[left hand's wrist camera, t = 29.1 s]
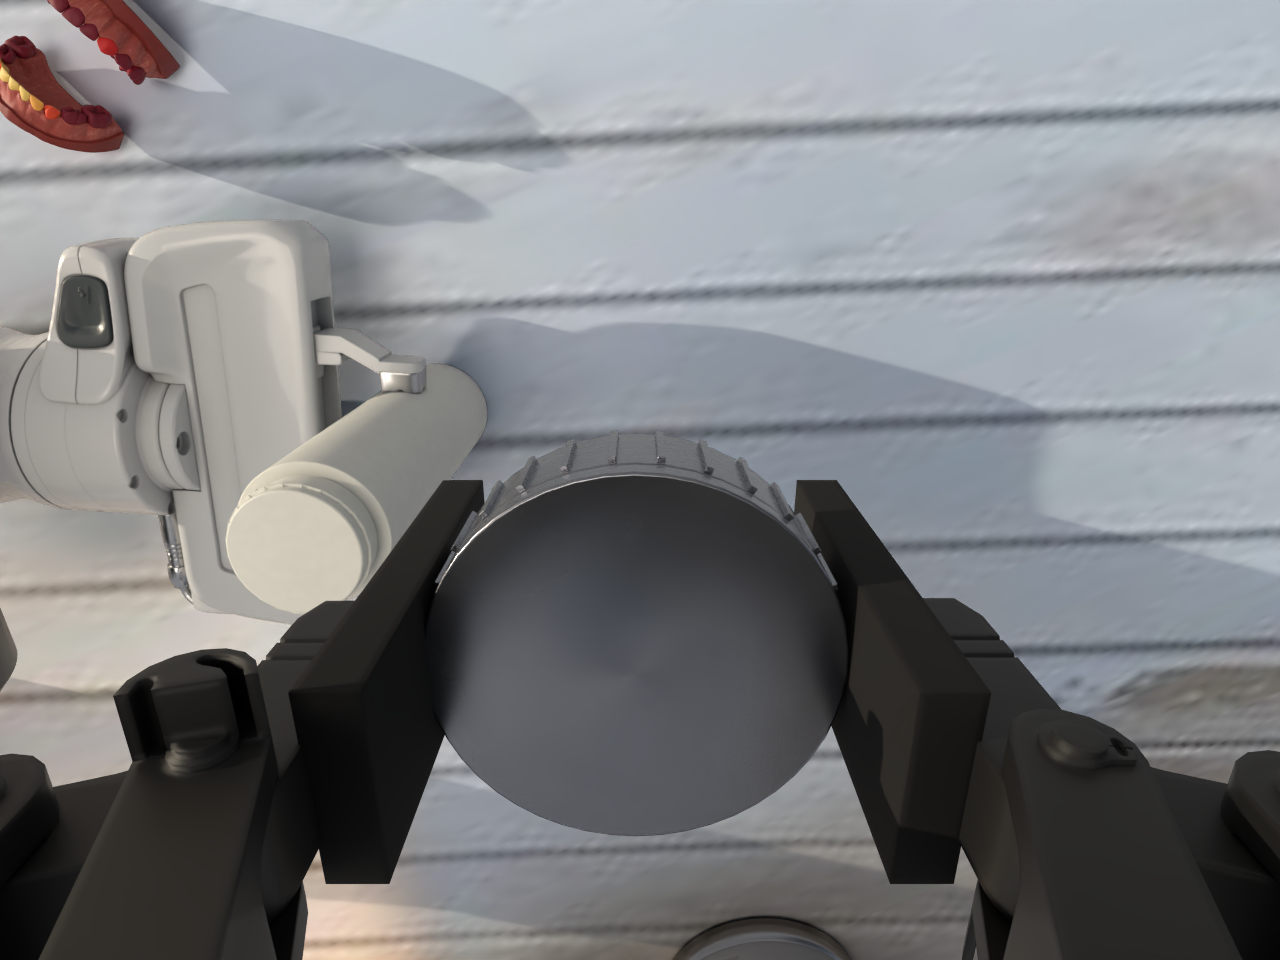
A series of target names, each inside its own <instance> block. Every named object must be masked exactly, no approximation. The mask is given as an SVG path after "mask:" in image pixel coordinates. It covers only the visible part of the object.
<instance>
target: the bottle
mask: <svg viewBox="0 0 1280 960" xmlns="http://www.w3.org/2000/svg"><path fill="white" fill-rule="evenodd" d="M426 366H427V368H426V382H427V388H425V389H423V391H422V392H419V393H405V392H403V391H402V390H398V391H397V392H383V391H380V392H379V393H377V394H376V395H374V396H373V397H371V398H370V399H368V400H367V401H365V402H364V403H363V404H361V405H360V406H358V407H357V408H355V409H354V410H352V411H351V412H349V413H348V414H346V415H345V416H344V417H342V418H341V419H339V420H338V421H336V422H335V423H333V424H332V425H330V426H329V427H327V428H326V429H325V430H323V431H322V432H320V433H319V434H317V435H316V436H314V437H313V438H311V439H310V440H308V441H307V442H306V443H304V444H303V445H301V446H300V447H298V448H297V449H295V450H294V451H292V452H291V453H289V454H288V455H286V456H285V457H284V458H282V459H281V460H279V461H278V462H276V463H275V464H273V465H272V466H270V467H269V468H267V469H266V470H265V471H263V472H262V473H260V474H259V475H258V476H257V477H255V478H254V479H253V480H252V481H251V482H250V483H249V485H248V486H247V487H246V489H245V490H244V492H243V493H242V495H241V498H240V500H239V503H238V506H237V507H236V508H235V510H234V512H233V514H232V516H231V518H230V520H229V522H228V526H227V534H226V538H225V540H226V546H227V553H228V555H227V556H228V558H229V560H230V563H231V566H232V568H233V570H234V573H235V574H236V575H237V576H238V578H239V579H240V581H241V582H242V583H243V584H244V585H245V587H246V588H247V589H248V590H249V591H251V592H252V593H253V594H254V595H256V596H257V597H258V598H259V599H260V600H262V601H264V602H266V603H268V604H270V605H272V606H274V607H276V609H280V610H284V611H288V612H292V613H293V614H305V613H307V612H309V611H310V610H312V609H313V608H315V607H317V606H318V605H320V604H321V603H323V602H325V601H344V600H348V599H351V598H353V597H356V596H358V595H360V593H361V592H362V591H363V589H364V588H365V587H366V585H367V584H368V582H369V581H370V580H371V578H372V577H373V576H374V574H375V573H376V571H377V570H378V569H379V567H380V566H381V565H382V563H383V562H384V560H385V559H386V558H387V556H388V555H389V554H390V552H391V551H392V549H393V548H394V547H395V545H396V544H397V543H398V541H399V540H400V539H401V537H402V536H403V534H404V533H405V532H406V530H407V529H408V528H409V526H410V525H411V523H412V522H413V521H414V519H415V518H416V517H417V515H418V514H419V512H420V511H421V510H422V508H423V507H424V506H425V504H426V503H427V501H428V500H429V499H430V497H431V496H432V495H433V493H434V492H435V490H436V489H437V488H438V486H439V485H440V484H441V482H442V481H443V480H450V479H451V478H452V477H453V475H454V474H455V472H456V471H457V470H458V468H459V467H460V465H461V464H462V463H463V461H464V460H465V458H466V457H467V456H468V454H469V453H470V451H471V450H472V449H473V447H474V446H475V444H476V443H477V442H478V440H479V439H480V437H481V436H482V434H483V432H484V429H485V427H486V422H487V406H486V401H485V398H484V396H483V394H482V392H481V390H480V388H479V387H478V385H477V384H476V383H475V382H474V381H473V379H471V378H470V377H469V376H468V375H467V374H465V373H464V372H462V371H461V370H459V369H457V368H454V367H452V366H448V365H444V364H426Z"/></svg>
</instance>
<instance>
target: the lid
mask: <svg viewBox="0 0 1280 960" xmlns="http://www.w3.org/2000/svg"><path fill="white" fill-rule="evenodd" d="M451 550H452V551H451V553H450V555H449V557H448V558H447V560H446V562H445V564H444V566H443V568H442V569H441V571H440V573H439V575H438V577H437V578H436V580H435V582H434V585H433V588H436V591H435V593H434V596H433V598H432V600H431V604H430V608H429V611H428V615H427V619H426V622H425V642H426V651H427V659H428V668H429V676H430V685H431V694H432V702H433V709H434V713H435V716H436V719H437V721H438V722H439V724H440V726H441V728H442V730H443V732H444V734H445V736H446V738H447V739H448V741H449V742H450V744H451V745H452V746H453V748H454V749H455V751H456V752H457V753H458V755H459V756H460V757H461V759H462V760H463V761H464V762H465V763H466V764H467V765H468V766H469V767H470V768H471V770H472V771H473V772H474V773H475V774H476V775H477V776H478V777H479V778H481V779H482V780H483V781H484V782H485V783H487V784H488V785H489V786H490V787H491V788H493V789H494V790H495V791H496V792H498V793H499V794H501V795H502V796H504V797H505V798H507V799H508V800H510V801H511V802H513V803H514V804H516V805H518V806H520V807H522V808H524V809H526V810H528V811H530V812H532V813H534V814H536V815H538V816H540V817H543V818H545V819H548V820H551V821H553V822H556V823H559V824H561V825H565V826H569V827H572V828H576V829H580V830H584V831H589V832H596V833H602V834H609V835H624V836H648V835H663V834H670V833H676V832H683V831H688V830H692V829H696V828H699V827H703V826H707V825H711V824H713V823H716V822H719V821H721V820H724V819H727V818H729V817H732V816H734V815H736V814H738V813H740V812H742V811H744V810H746V809H748V808H750V807H752V806H754V805H756V804H757V803H759V802H760V801H762V800H764V799H765V798H767V797H768V796H770V795H771V794H773V793H774V792H776V791H777V790H778V789H779V788H780V787H782V786H783V785H784V784H785V783H786V782H788V781H789V780H790V779H791V778H792V777H793V776H795V775H796V774H797V772H798V771H799V770H800V769H801V768H802V767H803V766H804V765H805V764H806V763H807V762H808V761H809V759H810V758H811V757H812V756H813V754H814V753H815V751H816V750H817V749H818V747H819V746H820V744H821V743H822V741H823V740H824V739H825V737H826V735H827V733H828V731H829V729H830V727H831V725H832V723H833V721H834V719H835V717H836V715H837V712H838V709H839V706H840V703H841V700H842V697H843V694H844V689H845V684H846V678H847V673H848V653H849V645H848V637H847V629H846V622H845V618H844V615H843V611H842V608H841V604H840V601H839V598H838V596H837V594H836V591H837V590H839V587H838V584H837V582H836V580H835V578H834V577H833V575H832V573H831V571H830V569H829V567H828V565H827V563H826V561H825V560H824V558H823V556H822V554H821V552H822V551H821V549H820V547H819V545H818V543H817V542H816V540H815V538H814V536H813V534H812V532H811V530H810V528H809V527H808V525H807V523H806V521H805V519H804V517H803V516H802V514H801V513H799V514H797V515H795V513H794V512H793V510H792V509H791V507H790V506H789V505H788V504H787V502H786V500H785V498H784V496H783V494H782V492H781V490H780V488H779V486H778V485H777V484H776V483H775V482H773V483H772V484H771V485H770V484H768V483H767V482H766V481H765V480H764V479H763V478H762V477H760V476H759V475H758V474H757V473H756V472H754V471H753V470H751V469H750V468H749V467H748V465H747V462H746V460H744V459H743V458H741V457H740V458H739V459H738V461H737V460H736V459H734V458H732V457H730V456H727V455H725V454H723V453H721V452H719V451H717V450H715V449H713V448H710V447H708V445H707V442H706V441H703V440H700V441H699V443H695V442H692V441H688V440H684V439H679V438H673V437H668V436H664V435H663V431H656V435H648V434H623V435H619V433H618V430H617V431H611V435H609V436H604V437H598V438H593V439H588V440H583V441H580V442H577V443H576V442H575V439H572V440H568V442H567V445H566V446H565V447H562V448H559V449H557V450H555V451H553V452H551V453H549V454H546V455H544V456H542V457H540V458H538V459H536V458H535V457H534V456H533V457H531V458H529V459H528V461H527V463H526V465H525V467H524V468H522V469H521V470H519V471H518V472H516V473H515V474H514V475H513V476H511V477H510V478H509V479H508V480H507V481H506V482H505V483H502V482H501V481H498V482H497V483H496V484H495V486H494V487H493V489H492V491H491V493H490V495H489V497H488V499H487V501H486V502H485V504H484V505H483V506H482V507H481V509H480V510H479V512H478V513H476V512H474V511H472V512H471V514H470V516H469V517H468V519H467V521H466V523H465V525H464V526H463V528H462V530H461V532H460V533H459V535H458V537H457V539H456V541H455V542H454V544H453V546H452V548H451Z"/></svg>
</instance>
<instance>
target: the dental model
mask: <svg viewBox="0 0 1280 960" xmlns="http://www.w3.org/2000/svg"><path fill="white" fill-rule="evenodd" d="M47 1H48V3H49V4H51V5H52V6H53V7H54V8H55V9H56V10H57V11H58V12H60V13H62V12H63V11H64V12H63V13H62V15H63V16H64V17H65V18H66V19H67V20H68V21H69V22H70V23H71V24H73V25H74V26H75V27H78V28H79V27H80V26H81V25H82V26H81V27H80V31H81V32H82V33H83V34H84V35H85V36H87V37H88V38H89V39H91V40H93V41H95V40H96V39H97V38H98V37H99V38H98V39H97V43H98V46H99V48H100V50H101V52H103V53H104V54H107V55H110V56H111V57H112V58H114V59H115V61H116V63H117V64H118V65H120V66H119V69H120V70H121V71H125V72H127V74H128V76H129V77H130V79H131V80H133V82H134V83H135V84H137V85H139V84H141V83H142V82H143V81H144V79H145V77H148V78H162V79H167V78H168V77H169V76H171V75H172V74H173V73H174V72H175V71H176V70H177V69H178V68H180V65H179V64H178V63H177V61H176V60H175V59H174V57H173V56H172V55H171V54H170V52H169V51H168V50H167V49H166V48H165V46H164V45H163V44H162V43H161V42H160V41H159V39H158V38H157V37H156V36H155V35H154V34H153V32H152V31H151V30H150V29H149V28H148V27H147V26H146V25H145V24H144V23H143V21H142V20H141V19H140V18H139V17H138V16H137V15H136V14H135V13H134V12H133V11H132V10H131V9H130V8H129V7H128V6H127V5H126V4H125V3H124V2H123V0H47ZM70 7H71V8H70ZM0 111H1V112H2V113H3V115H4V116H5V117H6V118H7V119H8V120H9V121H11V122H12V123H14V124H15V125H17V126H18V127H20V128H21V129H23V130H25V131H26V132H29V133H30V134H32V135H34V136H36V137H37V138H39V139H41V140H42V141H45V142H47V143H50V144H53V145H56V146H58V147H61V148H65V149H70V150H76V151H82V152H107V151H112V150H117V149H119V148H120V145H121V142H122V139H123V136H124V134H123V133H122V129H121V127H120V126H119V125H118V124H117V123H116V122H115V120H114V119H113V118H112V115H111V114H110V113H109V112H108V111H107V110H106V109H104V108H103V107H102V106H100V105H96V106H93V105H84V106H82V105H81V104H80V103H78V102H77V101H76V100H75V99H74V98H73V97H72V96H71V95H70V94H69V93H67V92H66V91H65V90H64V89H63V88H62V87H61V85H60V84H59V83H58V82H57V81H56V79H55V78H54V76H53V75H52V73H51V71H50V69H49V66H48V63H47V60H46V58H45V55H44V53H43V52H42V51H40V50H39V49H37V48H36V47H35V45H34V44H33V43H32V42H31V41H30V40H29V39H28V38H27V37H25V36H14V37H12V38H10V39H8V40H6V41H5V43H4V44H3V45H1V46H0Z"/></svg>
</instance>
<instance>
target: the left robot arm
mask: <svg viewBox="0 0 1280 960" xmlns="http://www.w3.org/2000/svg"><path fill="white" fill-rule="evenodd" d="M484 504H485V503H484V491H483V480H443V481H442V482H441V484H440V485H439V486H438V488H437V489H436V490H435V492H434V493H433V495H432V496H431V497H430V499H429V500H428V501H427V503H426V504H425V506H424V507H423V508H422V510H421V511H420V512H419V514H418V515H417V517H416V518H415V519H414V521H413V522H412V523H411V525H410V526H409V528H408V529H407V530H406V532H405V533H404V534H403V536H402V537H401V539H400V540H399V541H398V543H397V544H396V545H395V547H394V548H393V549H392V551H391V552H390V554H389V555H388V556H387V558H386V559H385V560H384V562H383V563H382V565H381V566H380V567H379V569H378V570H377V571H376V573H375V574H374V576H373V577H372V578H371V580H370V581H369V582H368V584H367V585H366V587H365V588H364V589H363V591H362V592H361V593H360V595H359V596H358V597H357V599H356V600H355V601H325V602H323V603H321V604H320V605H318V606H317V607H315V608H313V609H312V610H310V611H309V612H307V613H305V614H304V615H302V616H301V617H299V618H298V619H297V620H296V621H295V622H294V623H293V624H292V626H291V627H290V628H289V629H288V630H287V632H286V633H285V634H284V635H283V636H282V638H281V639H280V640H281V641H280V643H277V644H276V645H275V646H274V647H273V648H272V650H271V651H270V652H269V653H268V654H267V655H266V660H262V661H261V663H260V664H259V665H258V666H257V664H256V660H255V659H253V658H252V657H251V656H249V655H248V654H247V653H245V652H242V651H237V650H232V649H226V648H225V649H207V650H199V651H195V652H190V653H186V654H182V655H178V656H174V657H172V658H169V659H167V660H164V661H162V662H159V663H157V664H155V665H152V666H150V667H148V668H146V669H145V670H143V671H141V672H140V673H138V674H137V675H135V676H134V677H132V678H130V679H129V680H127V681H126V682H125V683H124V685H123V686H122V687H121V688H120V689H119V690H118V691H117V692H116V693H115V694H114V696H113V697H114V700H115V704H116V707H117V711H118V714H119V717H120V721H121V724H122V727H123V731H124V734H125V737H126V741H127V744H128V748H129V751H130V754H131V758H132V761H133V762H132V764H131V766H130V768H129V770H128V771H125V772H121V773H118V774H114V775H109V776H104V777H99V778H95V779H90V780H85V781H81V782H76V783H71V784H66V785H62V786H57V787H52V784H51V781H50V778H49V775H48V773H47V770H46V767H45V764H43V763H42V762H41V761H39V760H38V759H36V758H35V757H34V756H29V755H19V754H7V755H0V960H302V957H303V949H304V941H305V933H306V925H307V917H308V909H307V901H306V895H305V890H304V885H303V879H304V877H305V875H306V873H307V871H308V869H309V867H310V865H311V863H312V861H313V859H314V857H315V855H316V853H317V851H318V849H319V852H320V857H321V862H322V867H323V872H324V877H325V882H326V884H389V883H390V881H391V878H392V875H393V872H394V870H395V867H396V864H397V862H398V859H399V856H400V854H401V851H402V848H403V846H404V843H405V840H406V837H407V835H408V832H409V829H410V827H411V824H412V821H413V819H414V816H415V813H416V811H417V808H418V805H419V803H420V800H421V797H422V794H423V792H424V789H425V786H426V784H427V781H428V778H429V776H430V773H431V770H432V768H433V765H434V762H435V759H436V757H437V754H438V751H439V749H440V746H441V743H442V741H443V738H444V735H445V734H444V732H443V730H442V728H441V726H440V724H439V722H438V721H437V719H436V716H435V713H434V709H433V702H432V694H431V685H430V676H429V668H428V659H427V651H426V642H425V622H426V619H427V615H428V611H429V608H430V604H431V600H432V598H433V596H434V593H435V591H436V588H433V585H434V582H435V580H436V578H437V577H438V575H439V573H440V571H441V569H442V568H443V566H444V564H445V562H446V560H447V558H448V557H449V555H450V553H451V551H452V550H451V548H452V546H453V544H454V542H455V541H456V539H457V537H458V535H459V533H460V532H461V530H462V528H463V526H464V525H465V523H466V521H467V519H468V517H469V516H470V514H471V512H472V511H474V512H476V513H478V512H479V510H480V509H481V507H482V506H483V505H484ZM794 513H795V515H797V514H799V513H801V514H802V516H803V517H804V519H805V521H806V523H807V525H808V527H809V528H810V530H811V532H812V534H813V536H814V538H815V540H816V542H817V543H818V545H819V547H820V549H821V551H822V552H821V554H822V556H823V558H824V560H825V561H826V563H827V565H828V567H829V569H830V571H831V573H832V575H833V577H834V578H835V580H836V582H837V584H838V587H839V590H837V591H836V594H837V596H838V598H839V601H840V604H841V608H842V611H843V615H844V618H845V622H846V629H847V637H848V645H849V653H848V673H847V678H846V684H845V689H844V694H843V697H842V700H841V703H840V706H839V709H838V712H837V715H836V717H835V719H834V721H833V723H832V725H831V726H832V728H833V731H834V734H835V736H836V739H837V742H838V745H839V747H840V750H841V753H842V755H843V758H844V761H845V763H846V766H847V769H848V771H849V774H850V777H851V780H852V782H853V785H854V788H855V790H856V793H857V796H858V798H859V801H860V804H861V806H862V809H863V812H864V814H865V817H866V820H867V823H868V825H869V828H870V831H871V833H872V836H873V839H874V841H875V844H876V847H877V849H878V852H879V855H880V858H881V860H882V863H883V866H884V868H885V871H886V874H887V876H888V879H889V882H890V884H954V879H955V874H956V869H957V864H958V859H959V854H960V849H961V846H962V848H963V850H964V852H965V854H966V856H967V858H968V860H969V862H970V864H971V866H972V868H973V870H974V872H975V874H976V876H977V878H978V881H977V885H976V890H975V895H974V900H973V904H972V909H971V914H970V918H969V923H968V928H967V933H966V937H965V942H964V949H963V956H962V960H973V957H974V952H975V948H976V947H977V955H978V960H1280V752H1277V751H1270V750H1267V751H1257V752H1248V753H1246V754H1245V755H1243V756H1242V757H1241V758H1239V759H1238V760H1237V761H1236V762H1235V765H1234V768H1233V771H1232V773H1231V776H1230V779H1229V782H1228V784H1225V783H1220V782H1215V781H1211V780H1206V779H1201V778H1196V777H1191V776H1187V775H1182V774H1177V773H1172V772H1168V771H1163V770H1160V769H1156V768H1152V767H1150V765H1149V763H1148V761H1147V759H1146V758H1145V757H1144V755H1143V754H1142V753H1141V752H1140V750H1139V749H1138V748H1137V746H1136V745H1135V744H1134V743H1133V742H1131V741H1130V740H1128V739H1127V738H1126V737H1124V736H1123V735H1122V734H1120V733H1119V732H1118V731H1116V730H1115V729H1113V728H1111V727H1109V726H1107V725H1105V724H1103V723H1100V722H1098V721H1096V720H1094V719H1092V718H1090V717H1087V716H1083V715H1079V714H1075V713H1072V712H1068V711H1064V710H1061V708H1060V707H1059V706H1058V705H1057V704H1056V703H1055V701H1054V700H1053V699H1052V698H1051V697H1050V695H1049V694H1048V693H1047V692H1046V691H1045V689H1044V688H1043V687H1042V686H1041V685H1040V684H1039V682H1038V681H1037V680H1036V679H1035V678H1034V676H1033V675H1032V674H1031V673H1030V672H1029V671H1028V669H1027V668H1026V667H1025V666H1024V665H1023V663H1022V662H1021V661H1020V660H1019V659H1018V658H1014V653H1013V652H1012V650H1011V649H1010V648H1009V647H1008V646H1007V644H1006V643H1005V642H1004V641H1003V640H1000V638H999V637H1000V636H999V635H998V634H997V633H996V631H995V630H994V629H993V628H992V627H991V626H990V624H989V623H988V622H987V621H986V620H985V618H984V617H983V616H982V615H980V614H979V613H977V612H975V611H974V610H972V609H970V608H969V607H967V606H966V605H964V604H962V603H961V602H959V601H958V600H956V599H954V598H922V597H921V595H920V594H919V593H918V591H917V590H916V589H915V587H914V586H913V584H912V583H911V582H910V580H909V579H908V578H907V576H906V575H905V573H904V572H903V571H902V569H901V568H900V567H899V565H898V564H897V562H896V561H895V560H894V558H893V557H892V556H891V554H890V553H889V552H888V550H887V549H886V547H885V546H884V545H883V543H882V542H881V541H880V539H879V538H878V536H877V535H876V534H875V532H874V531H873V530H872V528H871V527H870V525H869V524H868V523H867V521H866V520H865V519H864V517H863V516H862V514H861V513H860V512H859V510H858V509H857V508H856V506H855V505H854V503H853V502H852V501H851V499H850V498H849V497H848V495H847V494H846V492H845V491H844V490H843V488H842V487H841V486H840V484H839V483H838V482H837V480H797V485H796V498H795V510H794ZM673 960H850V958H849V956H848V955H847V953H846V952H845V951H844V949H843V948H842V947H841V946H840V945H839V944H838V943H837V942H836V941H834V940H833V939H832V938H831V937H829V936H828V935H826V934H825V933H823V932H821V931H819V930H817V929H815V928H813V927H810V926H808V925H805V924H802V923H798V922H794V921H789V920H783V919H772V918H759V919H748V920H741V921H736V922H732V923H728V924H725V925H721V926H719V927H716V928H714V929H711V930H709V931H707V932H705V933H703V934H702V935H700V936H698V937H697V938H695V939H694V940H692V941H691V942H690V943H688V944H687V945H686V946H685V947H684V948H683V949H682V950H681V951H680V952H679V953H678V954H677V955H676V957H675V958H674V959H673Z"/></svg>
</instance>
